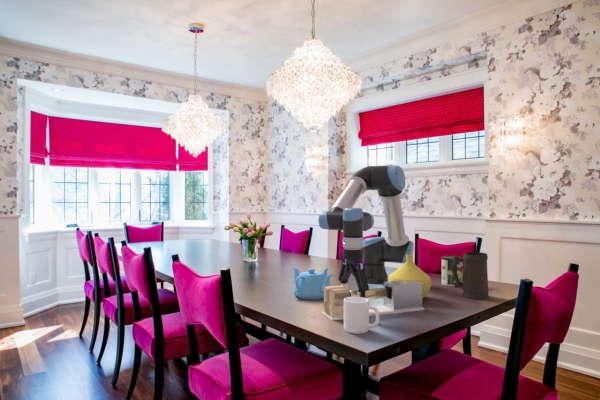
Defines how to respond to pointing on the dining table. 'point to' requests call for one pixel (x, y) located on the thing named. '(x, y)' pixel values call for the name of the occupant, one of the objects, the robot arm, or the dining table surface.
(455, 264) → the beer stein
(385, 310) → the base rail
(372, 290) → the slip tube
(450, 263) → the coffee can
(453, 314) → the dining table surface
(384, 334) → the dining table surface
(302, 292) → the teapot
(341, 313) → the socket block
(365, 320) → the cup
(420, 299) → the sleeve
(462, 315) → the dining table surface
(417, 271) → the vase
